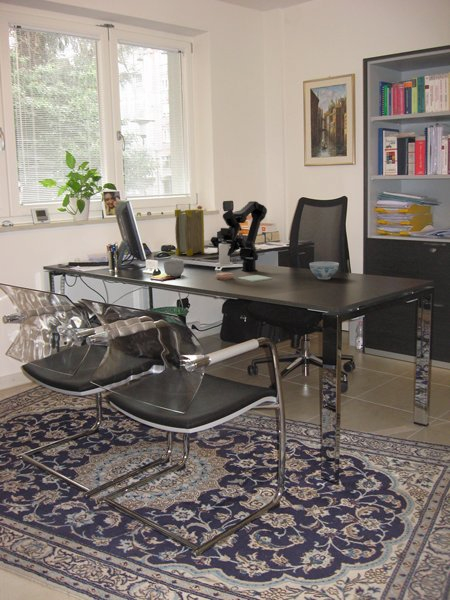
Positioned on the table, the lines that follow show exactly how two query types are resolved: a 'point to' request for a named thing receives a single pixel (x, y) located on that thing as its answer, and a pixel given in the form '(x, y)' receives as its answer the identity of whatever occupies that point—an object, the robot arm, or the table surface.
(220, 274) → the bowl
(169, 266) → the teacup
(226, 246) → the cover
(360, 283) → the table surface
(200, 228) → the decorative book
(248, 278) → the mat
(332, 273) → the chinaware
